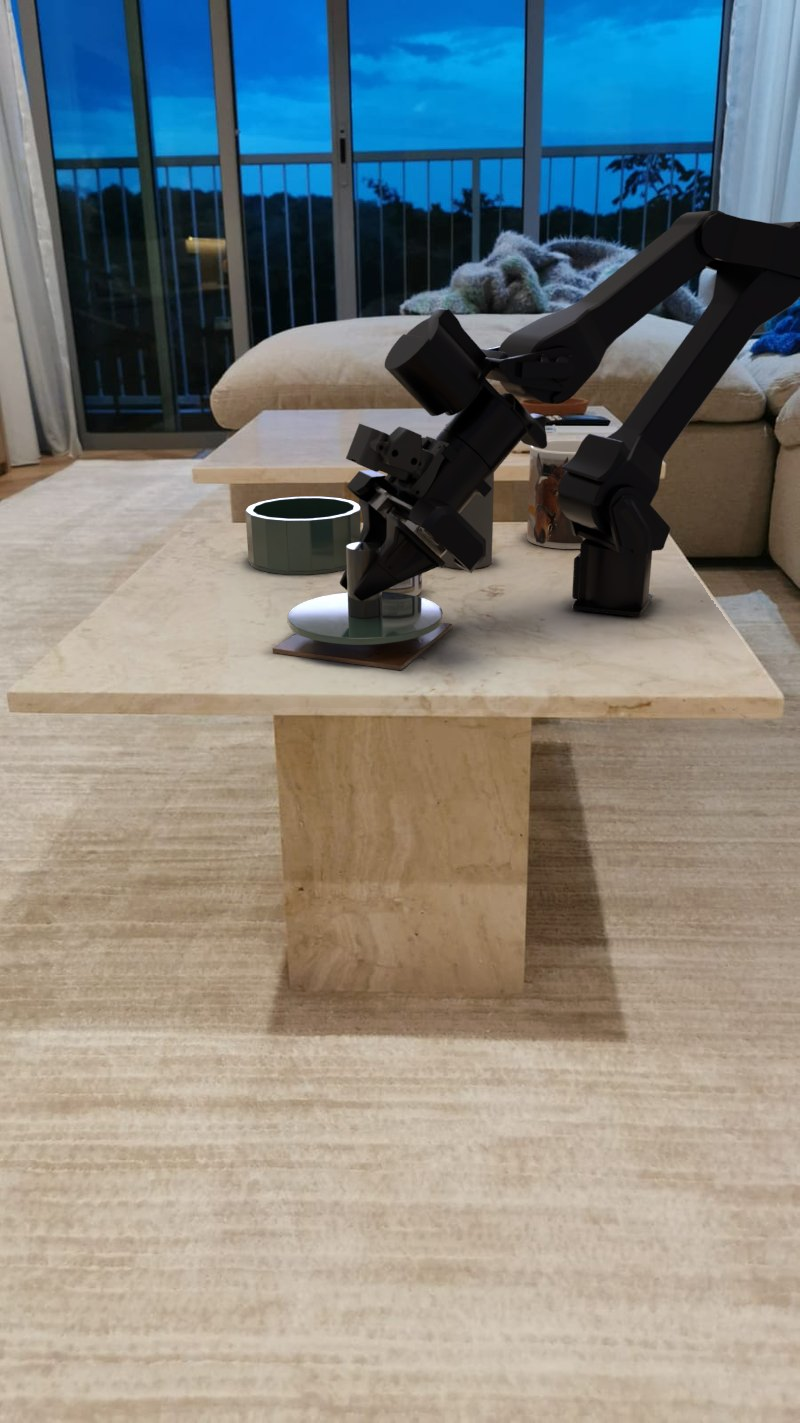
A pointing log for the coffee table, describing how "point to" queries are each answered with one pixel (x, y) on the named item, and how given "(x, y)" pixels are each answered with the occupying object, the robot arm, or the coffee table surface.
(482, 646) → the coffee table surface
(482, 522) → the bottle
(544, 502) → the mug
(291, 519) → the tin
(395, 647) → the glossy brown square tile
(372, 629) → the tin lid
